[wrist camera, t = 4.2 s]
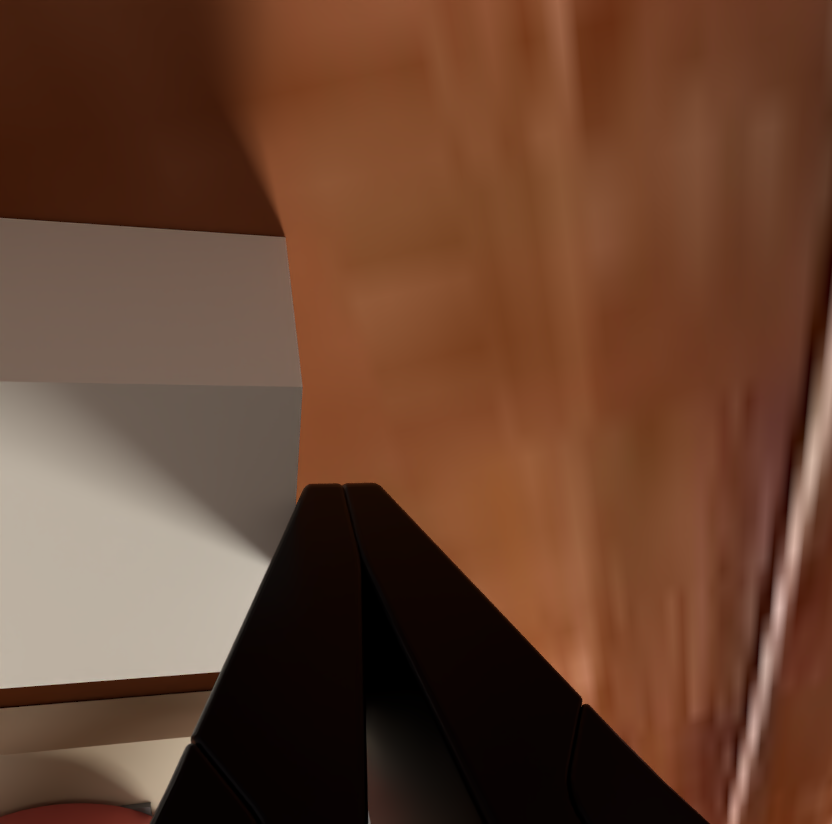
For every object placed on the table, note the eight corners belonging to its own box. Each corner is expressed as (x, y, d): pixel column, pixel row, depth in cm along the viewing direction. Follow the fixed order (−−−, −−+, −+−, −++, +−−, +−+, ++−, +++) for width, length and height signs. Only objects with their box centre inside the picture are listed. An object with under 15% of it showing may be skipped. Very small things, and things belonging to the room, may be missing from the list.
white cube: (285, 237, 10) (302, 386, 6) (276, 466, 12) (285, 667, 8) (-41, 214, 9) (-216, 377, 5) (14, 469, 11) (-88, 695, 8)
